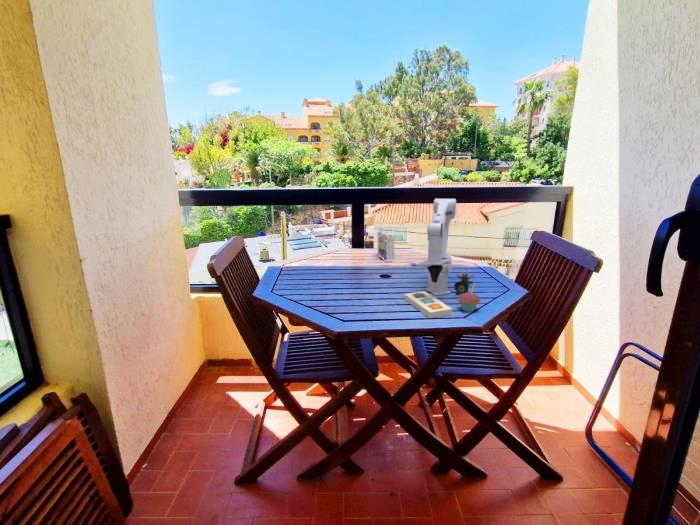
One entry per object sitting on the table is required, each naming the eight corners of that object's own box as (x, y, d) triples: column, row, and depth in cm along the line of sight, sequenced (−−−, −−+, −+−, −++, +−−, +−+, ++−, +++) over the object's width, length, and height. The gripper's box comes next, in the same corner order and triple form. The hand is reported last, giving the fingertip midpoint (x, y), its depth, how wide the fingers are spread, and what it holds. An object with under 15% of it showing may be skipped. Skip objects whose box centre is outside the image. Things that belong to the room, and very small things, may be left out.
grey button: (412, 299, 173) (412, 293, 173) (421, 297, 175) (421, 292, 174) (416, 302, 169) (417, 296, 169) (426, 301, 171) (426, 295, 170)
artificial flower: (450, 297, 179) (445, 276, 179) (462, 288, 199) (457, 269, 198) (469, 295, 175) (464, 273, 174) (479, 286, 194) (475, 266, 194)
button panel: (404, 299, 175) (404, 293, 174) (424, 296, 178) (424, 291, 177) (429, 318, 154) (429, 312, 153) (452, 314, 157) (452, 308, 156)
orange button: (427, 310, 161) (427, 304, 160) (437, 308, 162) (437, 303, 161) (433, 314, 157) (433, 308, 156) (442, 312, 158) (443, 306, 157)
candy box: (377, 256, 249) (377, 231, 245) (385, 255, 251) (385, 230, 247) (385, 262, 237) (385, 235, 232) (394, 261, 238) (394, 234, 234)
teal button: (419, 304, 167) (419, 298, 166) (428, 303, 168) (429, 297, 168) (424, 308, 163) (424, 302, 162) (434, 306, 164) (434, 300, 164)
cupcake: (474, 305, 166) (475, 278, 163) (482, 312, 158) (484, 284, 154) (454, 306, 165) (455, 279, 162) (462, 314, 157) (463, 285, 154)
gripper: (424, 255, 158) (423, 286, 162) (455, 251, 162) (454, 282, 166) (416, 251, 165) (415, 281, 168) (446, 247, 169) (445, 277, 172)
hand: (434, 281), depth 167 cm, fingers closed
